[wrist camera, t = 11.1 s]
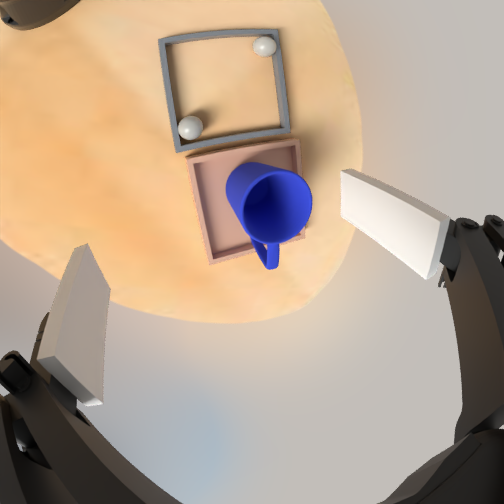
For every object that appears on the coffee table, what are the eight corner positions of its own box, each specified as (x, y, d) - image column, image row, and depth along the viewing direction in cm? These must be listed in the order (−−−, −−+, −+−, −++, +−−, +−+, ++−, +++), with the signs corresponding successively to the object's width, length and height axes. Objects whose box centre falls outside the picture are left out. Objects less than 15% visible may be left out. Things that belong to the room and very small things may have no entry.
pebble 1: (175, 118, 29) (176, 118, 27) (199, 113, 30) (202, 113, 27) (179, 141, 31) (181, 143, 28) (202, 136, 31) (206, 137, 29)
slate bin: (158, 42, 24) (158, 39, 22) (273, 32, 27) (277, 29, 26) (175, 151, 31) (176, 153, 30) (285, 132, 35) (290, 132, 33)
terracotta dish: (184, 157, 32) (186, 159, 30) (292, 138, 35) (299, 139, 34) (206, 258, 40) (209, 265, 38) (299, 232, 43) (305, 238, 41)
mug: (221, 242, 39) (242, 281, 30) (216, 158, 33) (239, 172, 25) (274, 234, 41) (307, 267, 33) (276, 154, 35) (315, 168, 27)
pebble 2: (248, 39, 27) (255, 33, 24) (269, 39, 27) (278, 34, 25) (250, 59, 28) (258, 54, 26) (272, 58, 29) (281, 54, 26)
